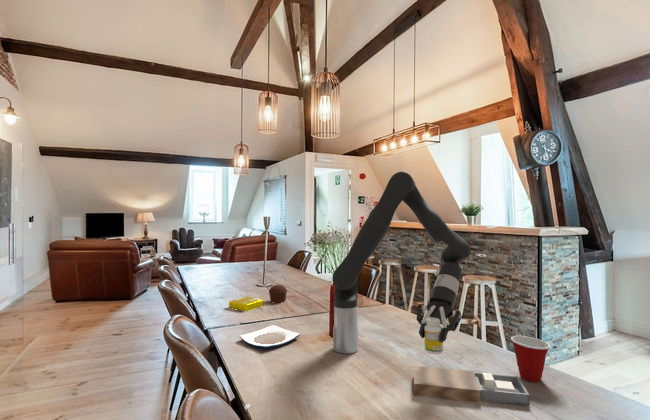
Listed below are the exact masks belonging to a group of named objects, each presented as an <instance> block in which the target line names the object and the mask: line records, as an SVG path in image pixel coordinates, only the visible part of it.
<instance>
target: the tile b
mask: <svg viewBox="0 0 650 420" xmlns="http://www.w3.org/2000/svg"><path fill="white" fill-rule="evenodd" d="M494 384H495V390H497V391H507V392H515V389H514V387H513V385H512V382H507V381H499V380H494Z"/></svg>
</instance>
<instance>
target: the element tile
mask: <svg viewBox="0 0 650 420" xmlns="http://www.w3.org/2000/svg"><path fill="white" fill-rule="evenodd" d="M260 306H263V307H264V299H263V298H258V297H252V296H243V297H239V298H237V299H233V300H229V302H228V309H229V308H233V309H237V310H236V311H238V310H242V311H247V312H249V311H248V310H251V309H254V308H257V307H260ZM260 308H261V307H260ZM233 309H232V310H233ZM257 309H258V308H257ZM254 310H255V309H254ZM242 311H241V312H242ZM251 311H252V310H251Z"/></svg>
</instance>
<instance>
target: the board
mask: <svg viewBox="0 0 650 420" xmlns="http://www.w3.org/2000/svg"><path fill="white" fill-rule="evenodd" d="M413 396H416V397H424V398H431V399H432V398H434V399H442V400H443V399H444V400H449V401H450V400H452V401H460V402H467V403H476V404H481V402H482V401H481V394H480V388H479V385H478V382H477V380H476V377H475V372H474V370H466V369H464V370H463V369H453V368H445V367H444V368H443V367H432V366H421V365H413Z"/></svg>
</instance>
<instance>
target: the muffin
mask: <svg viewBox="0 0 650 420" xmlns="http://www.w3.org/2000/svg"><path fill="white" fill-rule="evenodd" d="M287 293H288V290H287V288H286V287H285V286H284V285H282V284H275V285H272V286H271V287H270V288H269V290H268V294H269V300H270V303H272V302H274V303H273V304H282V303H281V302H283V303H285V302H286V301H287V300H286V299H287ZM284 301H285V302H284Z"/></svg>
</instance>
